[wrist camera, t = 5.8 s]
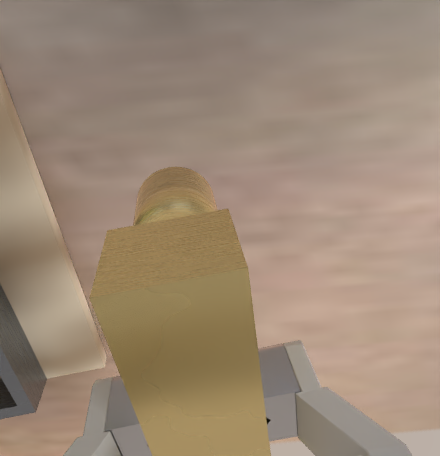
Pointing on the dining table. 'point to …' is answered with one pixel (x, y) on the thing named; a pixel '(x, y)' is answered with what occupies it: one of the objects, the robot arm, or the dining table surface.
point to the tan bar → (183, 321)
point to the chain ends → (17, 366)
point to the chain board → (40, 261)
